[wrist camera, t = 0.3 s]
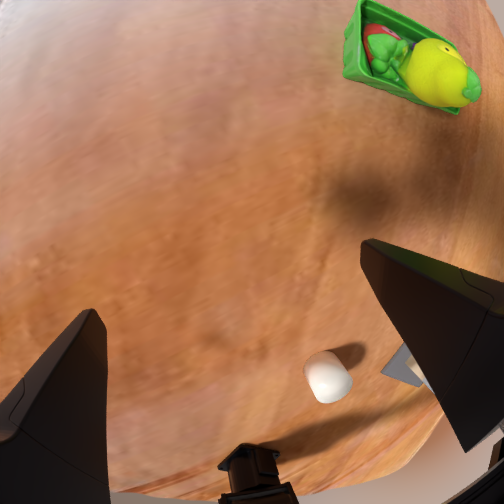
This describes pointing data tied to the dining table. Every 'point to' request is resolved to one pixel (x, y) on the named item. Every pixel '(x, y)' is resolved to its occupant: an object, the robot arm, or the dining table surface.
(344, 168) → the dining table surface
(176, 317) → the dining table surface
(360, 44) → the fruit basket
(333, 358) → the white cylinder
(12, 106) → the dining table surface
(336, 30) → the dining table surface
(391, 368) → the mat
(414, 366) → the bottom block
